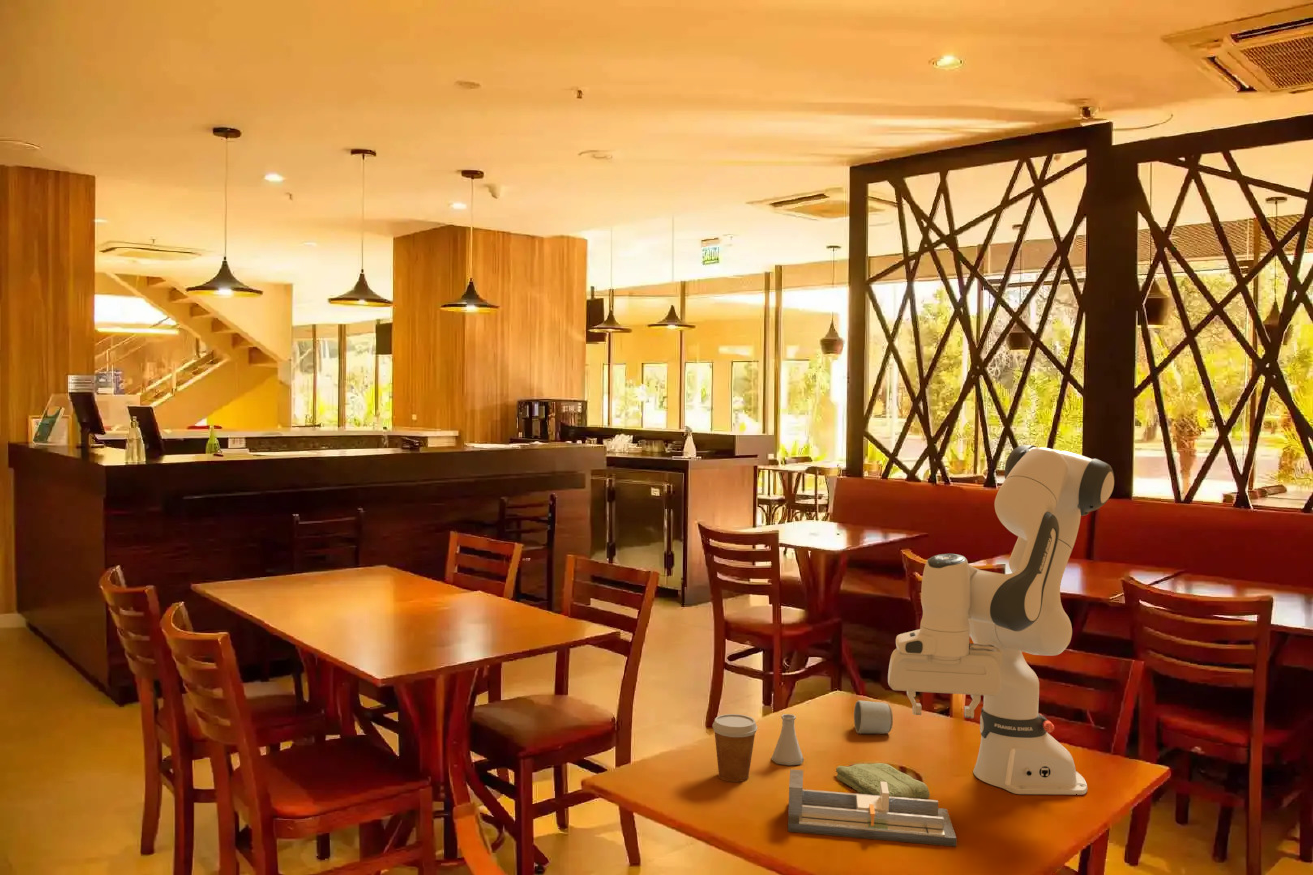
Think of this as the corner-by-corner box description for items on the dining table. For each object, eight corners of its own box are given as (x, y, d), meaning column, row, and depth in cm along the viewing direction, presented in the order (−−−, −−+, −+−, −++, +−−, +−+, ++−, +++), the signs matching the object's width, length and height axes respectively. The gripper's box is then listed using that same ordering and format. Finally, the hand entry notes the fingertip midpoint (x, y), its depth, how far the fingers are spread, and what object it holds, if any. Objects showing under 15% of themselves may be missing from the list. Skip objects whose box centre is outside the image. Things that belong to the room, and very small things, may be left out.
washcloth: (882, 770, 210) (882, 755, 210) (934, 801, 193) (934, 785, 193) (830, 777, 205) (831, 762, 205) (879, 810, 188) (879, 794, 188)
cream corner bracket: (885, 809, 183) (886, 781, 183) (889, 831, 174) (890, 801, 174) (856, 806, 184) (856, 778, 184) (858, 828, 175) (859, 799, 175)
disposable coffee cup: (753, 768, 208) (754, 713, 208) (759, 785, 198) (760, 727, 198) (709, 767, 208) (710, 712, 207) (713, 784, 198) (714, 727, 198)
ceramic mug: (894, 737, 229) (894, 705, 229) (860, 737, 229) (861, 705, 229) (881, 724, 240) (882, 693, 240) (849, 723, 240) (850, 693, 240)
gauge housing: (946, 816, 185) (947, 777, 185) (956, 846, 172) (957, 805, 172) (789, 802, 190) (790, 765, 190) (787, 831, 177) (788, 791, 177)
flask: (805, 766, 209) (807, 721, 209) (772, 766, 210) (773, 720, 209) (801, 755, 217) (802, 711, 216) (769, 754, 217) (770, 710, 217)
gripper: (999, 640, 180) (997, 713, 181) (887, 635, 184) (886, 706, 184) (1006, 649, 174) (1004, 724, 175) (890, 643, 177) (889, 717, 178)
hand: (942, 715), depth 179 cm, fingers open, 8 cm apart
